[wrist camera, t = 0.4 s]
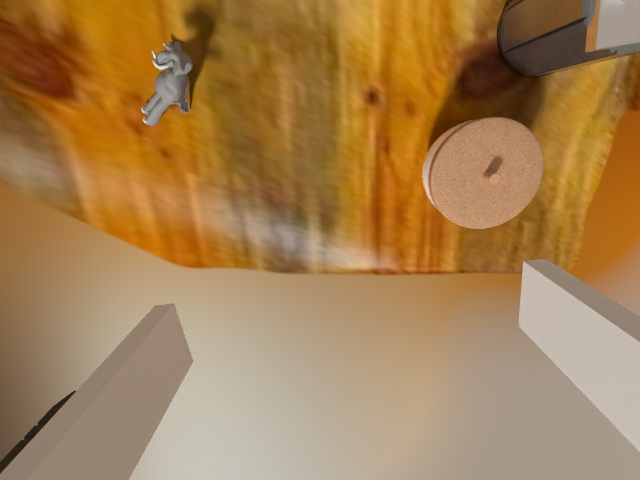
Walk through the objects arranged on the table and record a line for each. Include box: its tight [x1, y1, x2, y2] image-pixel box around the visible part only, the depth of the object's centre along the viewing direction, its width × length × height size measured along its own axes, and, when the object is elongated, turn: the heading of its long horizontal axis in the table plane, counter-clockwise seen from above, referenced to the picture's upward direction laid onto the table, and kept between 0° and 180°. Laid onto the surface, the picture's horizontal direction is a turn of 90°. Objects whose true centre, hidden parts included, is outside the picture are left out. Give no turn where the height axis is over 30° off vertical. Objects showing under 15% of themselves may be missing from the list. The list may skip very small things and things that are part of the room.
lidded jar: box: [422, 117, 544, 229], centre depth 34 cm, size 11×11×9 cm
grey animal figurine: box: [141, 41, 193, 126], centre depth 34 cm, size 10×6×9 cm
